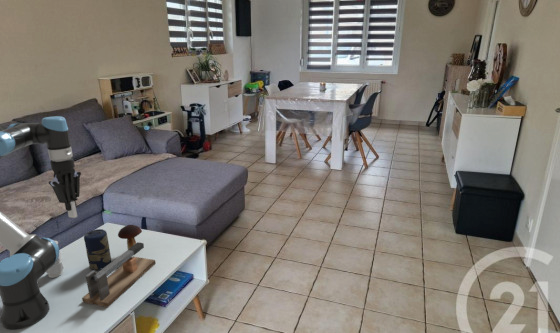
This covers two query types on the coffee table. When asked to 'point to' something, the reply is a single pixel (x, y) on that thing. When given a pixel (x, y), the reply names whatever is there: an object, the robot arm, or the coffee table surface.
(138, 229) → the decorative mushroom
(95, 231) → the canister
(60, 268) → the white ribbed cylinder
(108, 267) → the lever
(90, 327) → the coffee table surface
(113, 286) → the base
